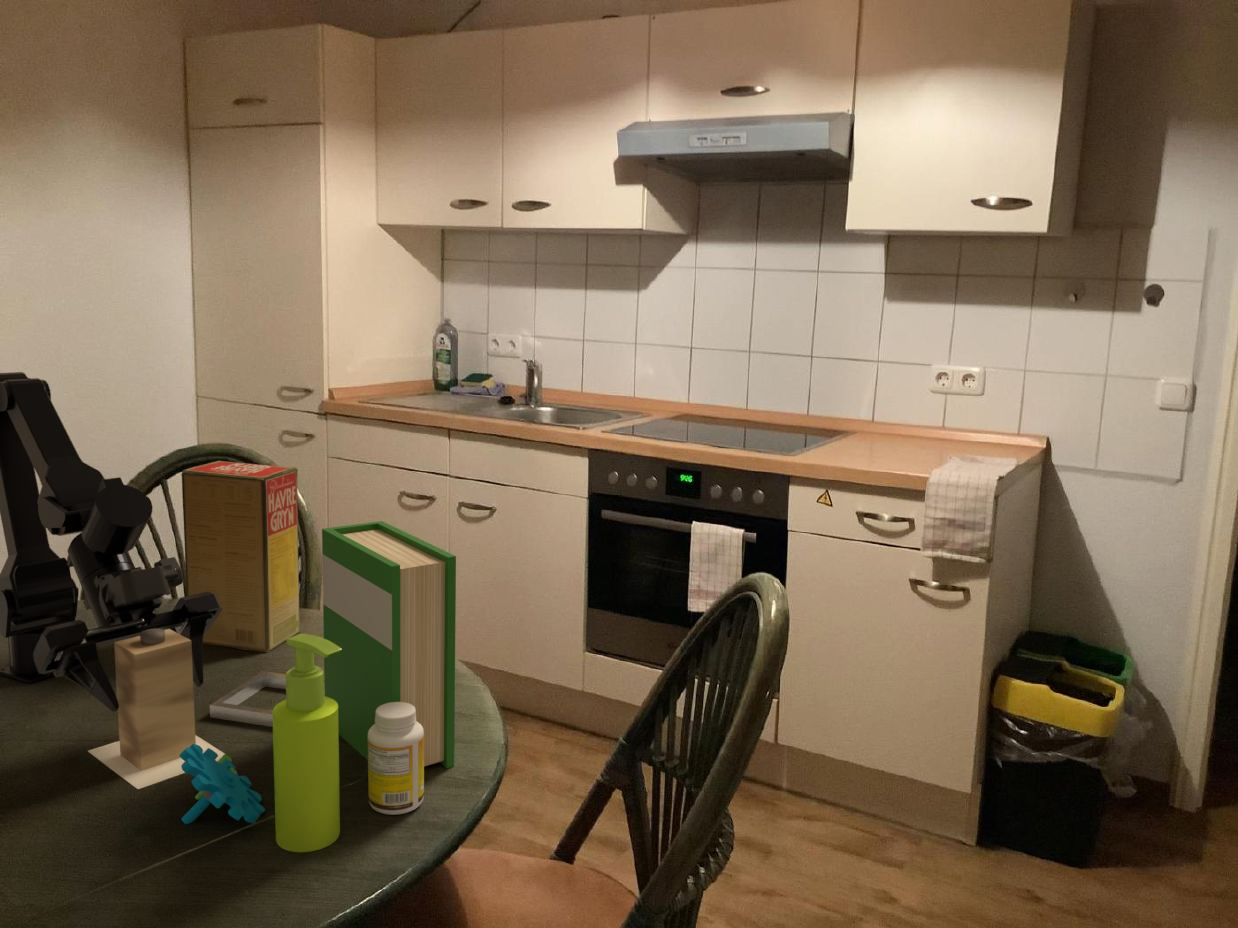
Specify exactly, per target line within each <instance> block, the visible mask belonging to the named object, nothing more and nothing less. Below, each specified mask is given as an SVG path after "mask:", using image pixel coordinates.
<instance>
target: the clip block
mask: <svg viewBox="0 0 1238 928" xmlns="http://www.w3.org/2000/svg"><path fill="white" fill-rule="evenodd" d="M113 645H114V646H113V648H114V649H113V650H114V661H115V662H114V663H115V664H114V665H115V684H116V698H117V701H118V704H119V708H118V710H117V715H118V716H117V717H118V718H117V719H118V735H119V737H118V738H119V739H118V740H119V741H120V755H121V756H122V757H123V758H125V759H126V760H128V761H129V762H130V763H132V764H133V765H134V766H136V767H137V768H138V769H140V770H141V771H143V770H146V769H149V768H151V767H154V766H157V765H160V764H163V763H166V762H169V761H172V760H175V759H178V758H181V757H180V756H179V755H180V754H181V753H182V752H183V751H184V750H185V749H186V748H189V747H190V746H191V745H192V744H196V740H195V735H196V722H195V721H196V719H195V698H194V697H195V696H194V693H195V692H194V682H193V668H192V644H191V640H190V639H188V638H186V637H184V636H182V635H180V634H178V633H176V632H174V631H172V630H170V629H166V630H163V629H148V630H144V631H142V632H141V633H140V636H138V637H133V638H129V639H125V640H121V641H117V642H113Z"/></svg>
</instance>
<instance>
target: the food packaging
mask: <svg viewBox="0 0 1238 928" xmlns="http://www.w3.org/2000/svg"><path fill="white" fill-rule="evenodd" d="M298 471H299V470H298V468H297V467H294V466H292V467H291V466H277V465H267V464H255V463H244V462H232V461H224V460H216V461H211V462H208V463H204V464H201V465H197V466H193V467H188V468H185V469H183V470H182V472H181V475H180V476H181V491H182V496H181V497H182V515H183V518H182V519H183V536H184V537H183V538H184V541H183V542H184V567H185V568H184V569H185V593H186V594H185V597H186V596H190V595H195V594H199V593H204V592H210V593H212V594H214V595H215V596H217V598H218V600H219V602H220V604H221V606H222V608H223V609H222V610H221V612H220V613H219V615H218V617H217V618H216V620H215V621H214V623H213V624H212V626H211V627H210V629H209V630H208V631H207V632H205V634H204V635H203V644H204V645H210V646H216V647H218V646H219V647H224V648H233V649H239V650H244V651H246V650H247V651H254V652H261V653H269V652H271V650H273V649H275V648H276V647H279V646H280V645H282V644H283V643H285V642H286V639H287V638H290V637H293V636H296V635H298V634H300V632H301V631H300V630H301V629H300V627H301V626H300V580H299V578H300V577H299V573H300V572H299V504H298V501H299V500H298V497H299V496H298V492H299V491H298ZM203 644H202V645H203Z"/></svg>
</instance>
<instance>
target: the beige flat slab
mask: <svg viewBox="0 0 1238 928" xmlns="http://www.w3.org/2000/svg"><path fill="white" fill-rule="evenodd" d="M195 740H196V745H199V746H200V747H201V748H202V749H203V753H204V752H205V751H206V750H207V749H208V748H210V749H211V750H213V751H214V752H216V753H217V754H218V757H217V758H216V759H215V760H216V761H218V760H219V759H220V758H221V757H222V756H223V755H224V754H225V753H224V752H223V751H221V750H220V749H218V748H217V747H215V746H213V745H212V744H210V743H209V742H207V741H206V740H204V739H203V738H201V737H199V735H197V734H195ZM87 752H88V753H89V754H90V755H92V756H93V757H95V758H96V759H97V760H98V761H100V762H101V763H102V764H104V765H105V766H106V767H107V768H109V769H110V770H112V771H113V772H115V773H116V774H117V775H118V776H120V777H121V778H123V780H125V781H126V782H128V783H129V784H130V785H131V786H132V787H134V788H135V789H136V790H140V789H143V788H146V787H149V786H152V785H155V784H157V783H160V782H164V781H166V780H169V779H172V778H175V777H178V776H180V775H182V774H186V773H185V772H184V771H183V770H182V767H181V766H182V764H183V763H184V762H185V761H184V760H183V759H182V758H178V759H175V760H172V761H169V762H166V763H163V764H160V765H157V766H154V767H151V768H149V769H146V770H143V771H141V770H140V769H138V768H137V767H136V766H134V765H133V764H132V763H130V762H129V761H128V760H126V759H125V758H123V757H122V756H121V755H120V740H118V741H114V742H110V743H108V744H105V745H102V746H99V747H94V748H93V749H89V750H87Z"/></svg>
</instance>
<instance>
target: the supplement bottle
mask: <svg viewBox="0 0 1238 928" xmlns="http://www.w3.org/2000/svg"><path fill="white" fill-rule="evenodd" d="M367 775H368V776H367V777H368V780H367V781H368V782H367V783H368V803H369V805H370V806H371V809H373V810H374V811H376V812H377V813H380V814H384V815H389V816H390V815H392V816H393V815H396V816H397V815H402V814H407V813H409V812H412V811H414V810H416V809H417V808H418V807H419V806H420V805H421V804H422V803H423V801H424V798H425V766H424V730H423V727H422V726H421V724H420V723H418V722H417V721H416V709H415V707H414V706H413V705H411V704H409V703H405V702H391V703H386V704H383V705H381V706H379V707H378V708H377V709H376V713H375V724H374V725H373V726H372V727H371V728H370V729H369V731H368V760H367Z"/></svg>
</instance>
